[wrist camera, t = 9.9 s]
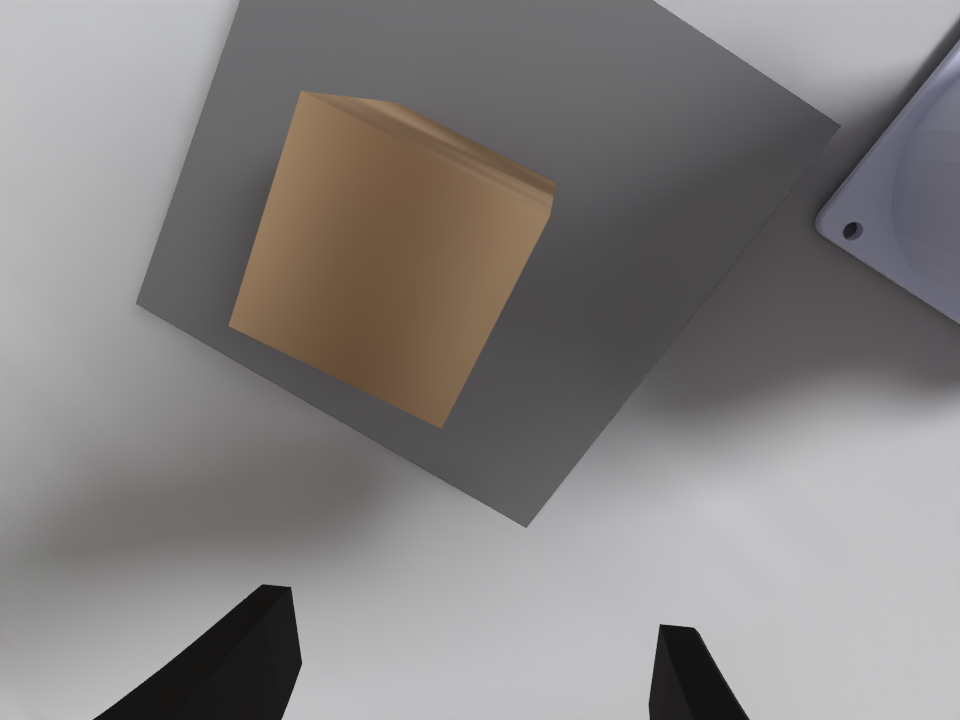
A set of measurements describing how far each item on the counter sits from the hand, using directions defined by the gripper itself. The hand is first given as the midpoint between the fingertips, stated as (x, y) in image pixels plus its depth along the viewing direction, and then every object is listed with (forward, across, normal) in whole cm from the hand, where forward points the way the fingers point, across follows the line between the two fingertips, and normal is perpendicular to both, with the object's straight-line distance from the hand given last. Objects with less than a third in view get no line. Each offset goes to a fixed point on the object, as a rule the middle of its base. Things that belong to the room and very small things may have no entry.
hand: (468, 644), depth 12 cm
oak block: (+7, +2, -7) cm, 10 cm away
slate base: (+10, +2, -7) cm, 13 cm away
